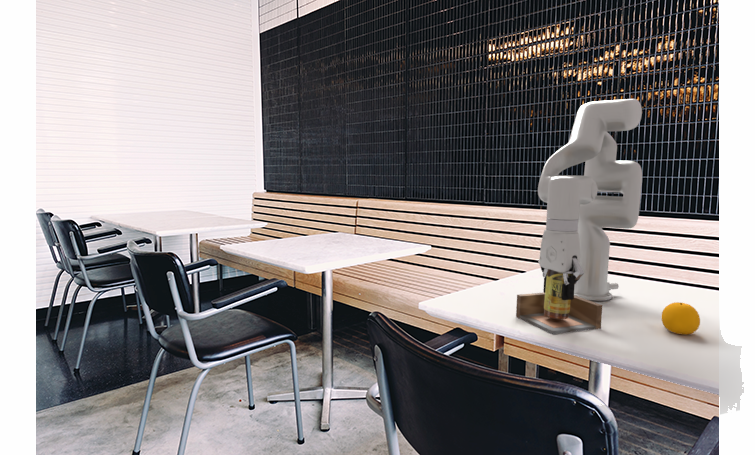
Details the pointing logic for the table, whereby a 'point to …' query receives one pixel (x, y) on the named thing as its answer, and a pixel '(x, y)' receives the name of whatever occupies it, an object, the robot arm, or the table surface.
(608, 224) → the robot arm
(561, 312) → the sauce bottle
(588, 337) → the table surface
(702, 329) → the table surface
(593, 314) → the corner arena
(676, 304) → the mandarin orange
